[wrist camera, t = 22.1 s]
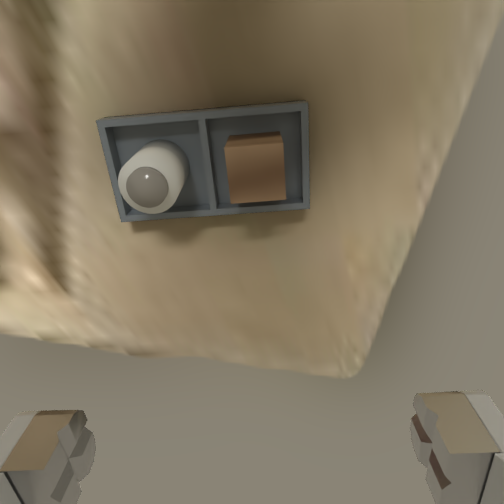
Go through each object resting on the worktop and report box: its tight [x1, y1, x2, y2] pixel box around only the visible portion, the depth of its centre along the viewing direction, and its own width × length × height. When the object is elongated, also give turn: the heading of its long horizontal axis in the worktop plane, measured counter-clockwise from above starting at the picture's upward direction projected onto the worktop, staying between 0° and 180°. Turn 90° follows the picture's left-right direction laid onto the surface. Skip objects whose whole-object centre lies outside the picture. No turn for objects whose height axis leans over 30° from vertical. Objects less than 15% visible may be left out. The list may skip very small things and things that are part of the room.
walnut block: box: [224, 131, 286, 204], centre depth 33 cm, size 4×4×6 cm
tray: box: [96, 100, 310, 222], centre depth 35 cm, size 9×18×2 cm, turn 95°
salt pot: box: [118, 139, 190, 214], centre depth 33 cm, size 5×5×6 cm
